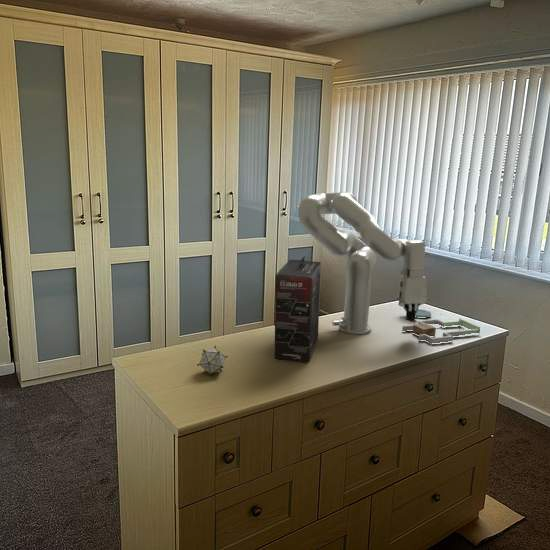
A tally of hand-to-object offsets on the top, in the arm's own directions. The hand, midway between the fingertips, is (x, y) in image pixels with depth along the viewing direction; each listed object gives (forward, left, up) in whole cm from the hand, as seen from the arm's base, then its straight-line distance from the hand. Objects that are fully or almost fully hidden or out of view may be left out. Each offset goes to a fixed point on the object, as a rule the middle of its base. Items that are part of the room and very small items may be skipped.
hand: (410, 320), depth 195 cm
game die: (-80, -12, -7) cm, 81 cm away
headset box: (-47, 0, -7) cm, 47 cm away
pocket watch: (+21, +23, -7) cm, 32 cm away
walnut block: (+7, +1, -7) cm, 10 cm away
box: (+15, +1, -7) cm, 17 cm away
